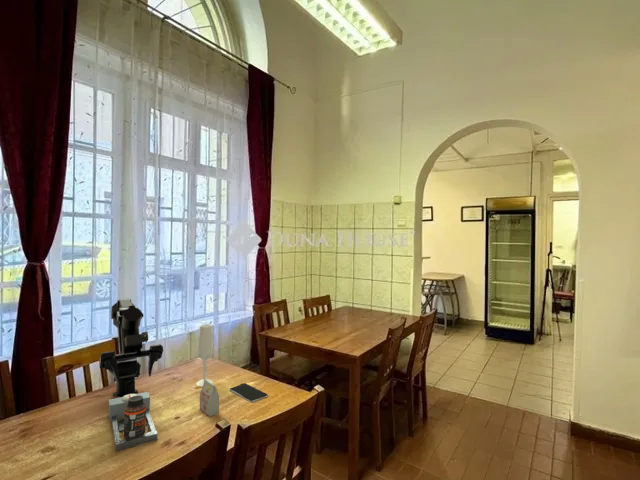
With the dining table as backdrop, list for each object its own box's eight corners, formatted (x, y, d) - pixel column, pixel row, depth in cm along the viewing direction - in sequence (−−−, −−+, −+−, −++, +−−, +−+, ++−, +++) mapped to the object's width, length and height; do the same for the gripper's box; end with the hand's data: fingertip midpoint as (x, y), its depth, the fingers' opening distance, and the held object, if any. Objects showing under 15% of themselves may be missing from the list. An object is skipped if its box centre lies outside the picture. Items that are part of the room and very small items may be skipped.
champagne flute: (196, 380, 149) (197, 324, 149) (212, 379, 151) (213, 323, 151) (195, 387, 143) (196, 328, 143) (213, 385, 145) (214, 327, 145)
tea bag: (209, 406, 127) (210, 378, 127) (218, 413, 122) (219, 384, 122) (199, 409, 124) (200, 381, 124) (209, 416, 119) (209, 387, 119)
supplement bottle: (136, 441, 104) (137, 403, 104) (118, 439, 105) (119, 401, 105) (149, 431, 110) (150, 394, 110) (133, 428, 111) (133, 392, 111)
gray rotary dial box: (108, 414, 120) (109, 397, 120) (147, 405, 126) (147, 389, 126) (109, 420, 115) (109, 403, 115) (149, 411, 122) (150, 394, 122)
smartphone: (251, 401, 130) (228, 388, 140) (251, 404, 130) (228, 391, 140) (268, 394, 136) (245, 382, 146) (268, 397, 136) (245, 385, 146)
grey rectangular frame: (111, 421, 115) (111, 414, 115) (148, 412, 121) (148, 406, 121) (115, 451, 99) (115, 444, 99) (157, 440, 105) (157, 433, 105)
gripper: (100, 327, 114) (102, 371, 105) (162, 321, 125) (169, 360, 116) (99, 346, 121) (100, 389, 111) (158, 339, 131) (163, 377, 122)
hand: (134, 378), depth 115 cm, fingers open, 9 cm apart
